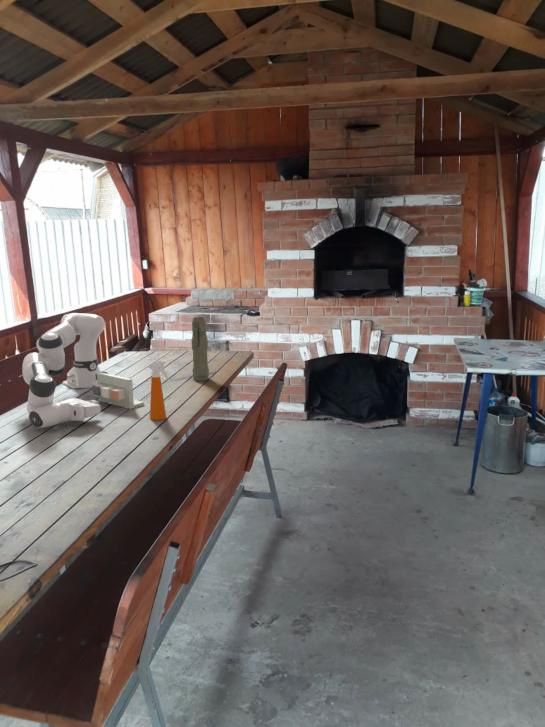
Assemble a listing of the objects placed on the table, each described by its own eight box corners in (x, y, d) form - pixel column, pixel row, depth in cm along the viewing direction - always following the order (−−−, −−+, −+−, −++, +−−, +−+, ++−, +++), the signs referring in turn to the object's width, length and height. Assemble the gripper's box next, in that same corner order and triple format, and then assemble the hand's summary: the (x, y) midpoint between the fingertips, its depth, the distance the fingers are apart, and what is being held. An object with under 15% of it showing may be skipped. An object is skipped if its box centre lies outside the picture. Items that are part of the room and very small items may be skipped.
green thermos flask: (191, 382, 303) (188, 318, 296) (195, 376, 315) (192, 315, 307) (207, 382, 303) (204, 318, 295) (210, 376, 315) (208, 315, 307)
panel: (98, 400, 270) (96, 372, 267) (112, 396, 276) (110, 369, 273) (130, 409, 256) (128, 380, 253) (144, 405, 262) (142, 376, 259)
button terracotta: (111, 399, 256) (110, 389, 254) (126, 395, 262) (126, 385, 261) (117, 401, 253) (116, 391, 252) (133, 396, 260) (132, 387, 259)
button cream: (102, 396, 260) (101, 387, 259) (117, 392, 266) (116, 383, 265) (108, 398, 257) (107, 388, 256) (123, 394, 264) (122, 384, 263)
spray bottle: (164, 423, 237) (161, 363, 231) (146, 418, 242) (142, 360, 236) (176, 418, 242) (173, 359, 237) (157, 414, 248) (154, 357, 242)
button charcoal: (92, 394, 264) (92, 385, 263) (108, 390, 271) (107, 381, 270) (98, 396, 261) (98, 386, 260) (114, 391, 268) (113, 382, 267)
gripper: (55, 412, 241) (82, 405, 252) (83, 421, 229) (111, 413, 240) (54, 398, 240) (81, 391, 251) (82, 407, 228) (110, 399, 239)
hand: (96, 402), depth 245 cm, fingers closed
